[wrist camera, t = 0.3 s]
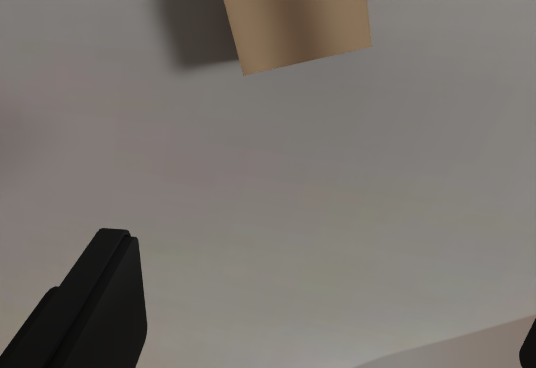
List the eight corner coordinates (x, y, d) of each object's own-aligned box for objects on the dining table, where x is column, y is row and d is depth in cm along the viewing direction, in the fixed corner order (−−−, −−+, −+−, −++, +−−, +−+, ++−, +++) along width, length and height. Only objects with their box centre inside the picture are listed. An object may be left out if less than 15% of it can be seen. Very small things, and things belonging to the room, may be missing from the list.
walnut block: (348, -52, 30) (360, -54, 25) (358, 32, 33) (372, 46, 28) (231, -21, 32) (219, -17, 26) (250, 57, 34) (243, 75, 29)
